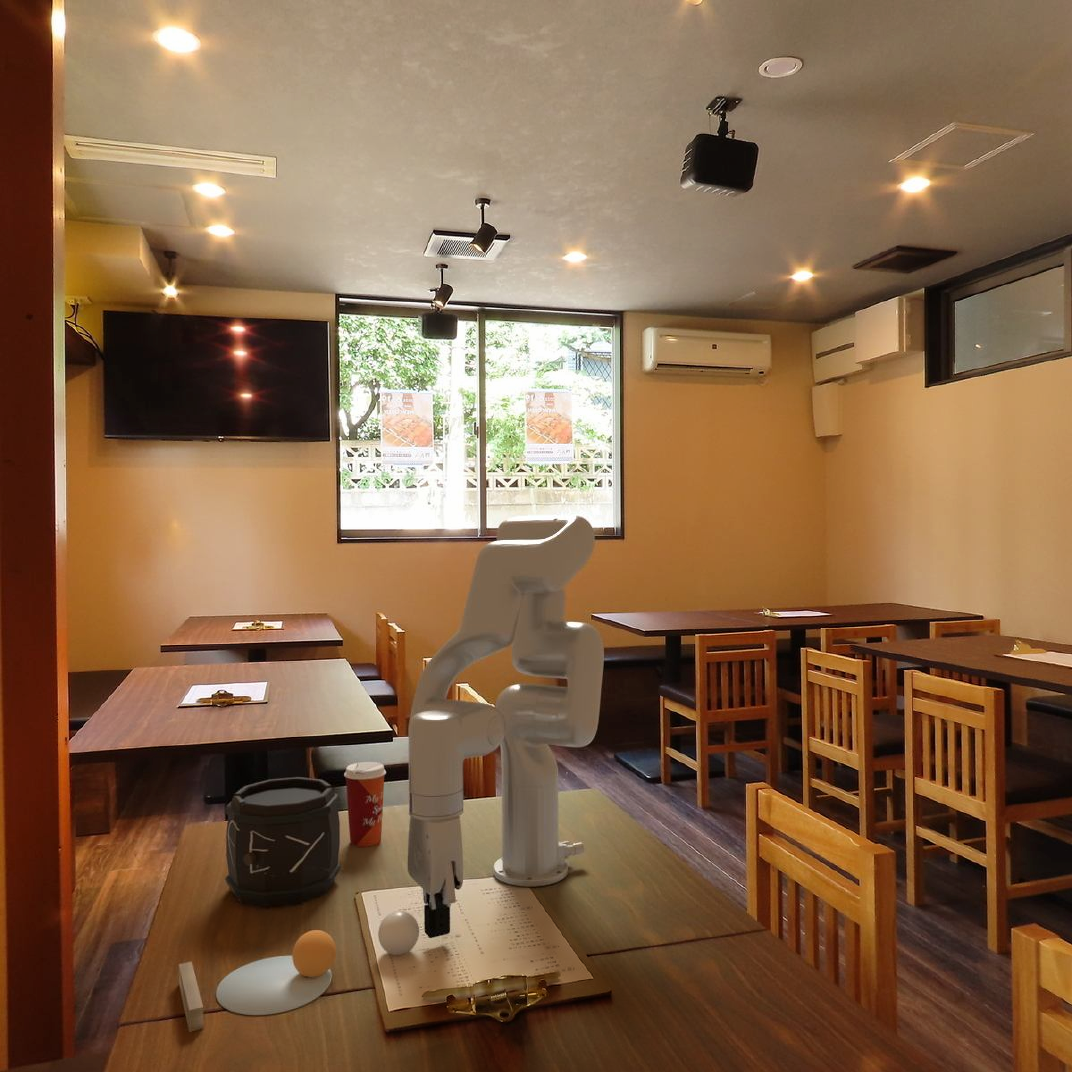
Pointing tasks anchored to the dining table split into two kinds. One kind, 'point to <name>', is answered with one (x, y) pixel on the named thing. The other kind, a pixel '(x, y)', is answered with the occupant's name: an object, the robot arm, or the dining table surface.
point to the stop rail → (190, 997)
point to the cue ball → (398, 932)
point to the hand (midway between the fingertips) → (437, 933)
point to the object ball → (314, 953)
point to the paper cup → (365, 802)
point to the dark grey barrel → (282, 841)
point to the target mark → (269, 987)
